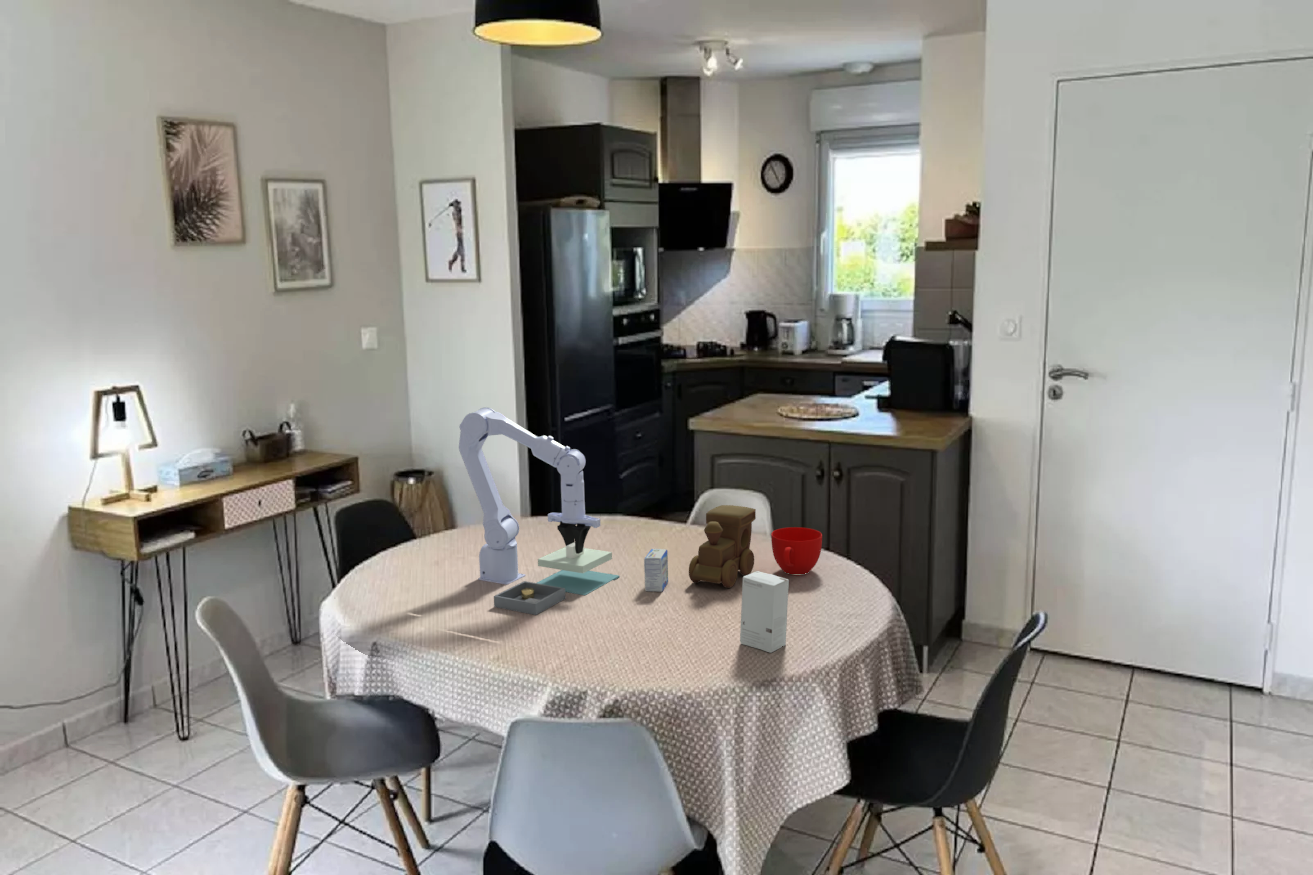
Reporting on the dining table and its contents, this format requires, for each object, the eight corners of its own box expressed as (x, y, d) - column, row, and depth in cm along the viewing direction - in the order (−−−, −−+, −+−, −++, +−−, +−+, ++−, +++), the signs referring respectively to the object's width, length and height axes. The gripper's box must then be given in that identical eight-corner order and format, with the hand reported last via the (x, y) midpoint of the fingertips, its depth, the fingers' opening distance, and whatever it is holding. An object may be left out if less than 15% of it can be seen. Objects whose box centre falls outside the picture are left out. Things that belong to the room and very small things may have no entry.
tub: (494, 608, 228) (493, 596, 227) (525, 592, 238) (524, 581, 238) (535, 616, 222) (535, 604, 222) (565, 600, 232) (565, 588, 232)
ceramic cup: (760, 581, 243) (760, 543, 241) (778, 561, 258) (778, 525, 257) (811, 587, 238) (812, 547, 236) (826, 566, 254) (827, 529, 252)
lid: (537, 566, 242) (537, 547, 241) (568, 552, 253) (567, 534, 252) (583, 573, 235) (582, 554, 234) (612, 559, 247) (611, 540, 246)
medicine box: (662, 592, 236) (661, 558, 235) (644, 591, 237) (643, 557, 236) (668, 582, 244) (667, 548, 242) (651, 581, 245) (650, 548, 243)
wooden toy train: (719, 564, 257) (719, 503, 254) (759, 570, 252) (759, 508, 249) (684, 586, 240) (683, 522, 237) (726, 593, 235) (726, 527, 232)
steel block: (523, 607, 227) (523, 601, 227) (530, 603, 229) (529, 597, 229) (537, 610, 225) (537, 603, 225) (543, 606, 227) (543, 600, 227)
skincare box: (739, 644, 204) (739, 576, 201) (755, 635, 209) (755, 569, 206) (773, 654, 199) (773, 584, 196) (789, 645, 203) (789, 577, 200)
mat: (531, 587, 242) (531, 585, 242) (567, 568, 256) (567, 567, 256) (585, 596, 234) (585, 594, 234) (619, 577, 248) (619, 575, 248)
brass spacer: (519, 598, 233) (518, 590, 233) (526, 594, 235) (526, 587, 235) (529, 600, 231) (529, 592, 231) (536, 596, 234) (536, 588, 234)
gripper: (539, 500, 241) (542, 552, 244) (588, 506, 234) (590, 560, 237) (556, 493, 247) (558, 545, 250) (604, 499, 240) (606, 552, 243)
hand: (575, 551), depth 244 cm, fingers closed on lid
